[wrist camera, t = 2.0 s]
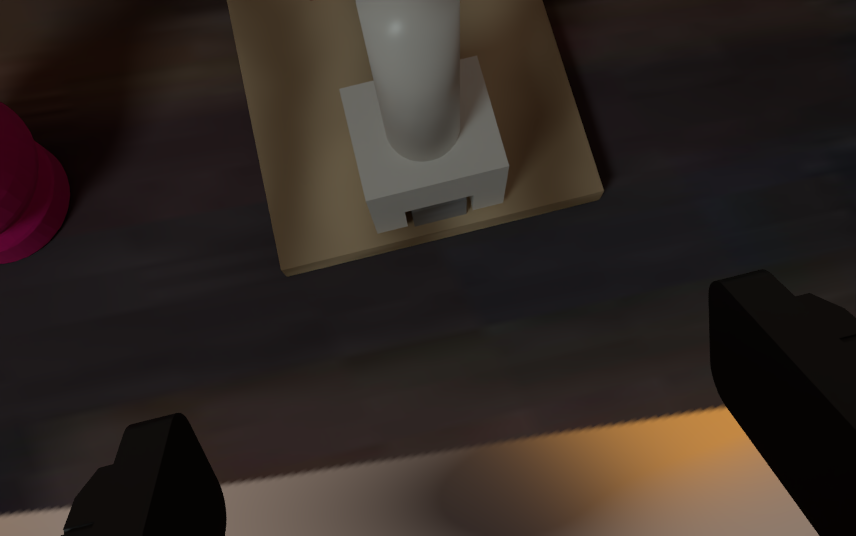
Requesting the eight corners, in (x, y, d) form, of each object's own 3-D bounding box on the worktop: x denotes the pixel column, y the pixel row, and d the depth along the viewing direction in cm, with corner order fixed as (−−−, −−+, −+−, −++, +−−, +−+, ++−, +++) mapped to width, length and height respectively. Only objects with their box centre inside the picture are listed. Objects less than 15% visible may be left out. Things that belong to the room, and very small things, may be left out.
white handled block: (377, 233, 34) (326, 93, 21) (353, 133, 35) (291, -58, 22) (503, 202, 34) (529, 44, 21) (475, 104, 35) (483, -104, 22)
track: (287, 276, 35) (251, 238, 29) (224, -32, 39) (181, -120, 33) (599, 199, 35) (627, 146, 29) (503, -98, 40) (511, -198, 34)
